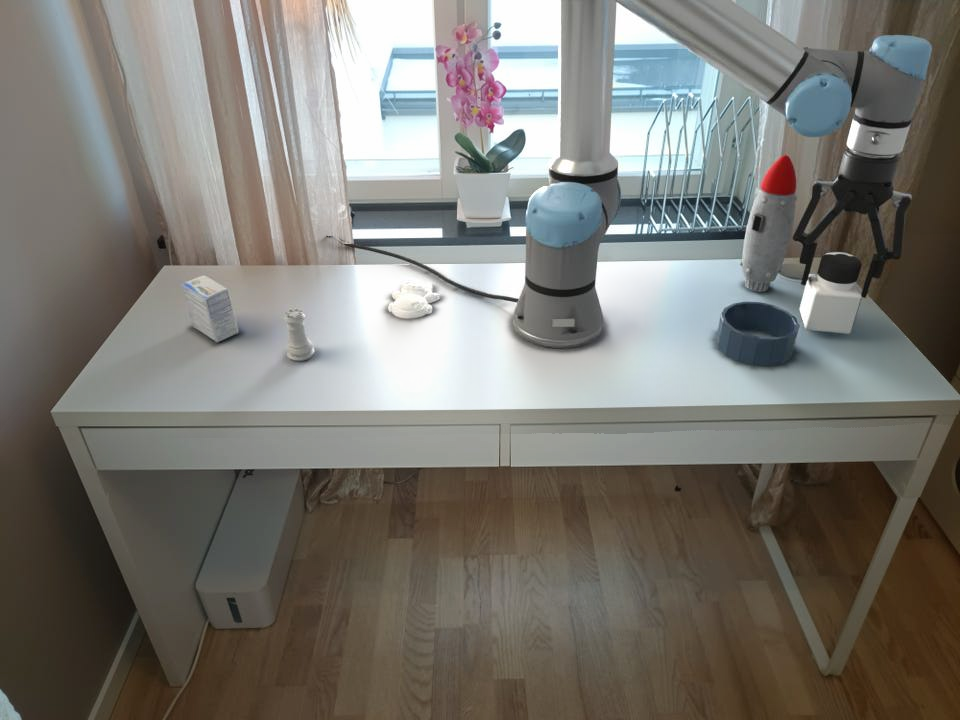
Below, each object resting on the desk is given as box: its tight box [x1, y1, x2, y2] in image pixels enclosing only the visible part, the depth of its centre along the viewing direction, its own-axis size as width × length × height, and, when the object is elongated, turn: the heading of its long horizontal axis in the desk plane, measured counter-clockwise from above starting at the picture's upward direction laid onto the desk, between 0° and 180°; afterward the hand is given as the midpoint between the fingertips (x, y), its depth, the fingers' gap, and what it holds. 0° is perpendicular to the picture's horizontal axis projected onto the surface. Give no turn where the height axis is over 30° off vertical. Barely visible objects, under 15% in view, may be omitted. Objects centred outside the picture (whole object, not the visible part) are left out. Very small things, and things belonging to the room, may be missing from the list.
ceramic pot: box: [715, 301, 800, 367], centre depth 120 cm, size 12×12×5 cm
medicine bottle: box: [798, 251, 863, 335], centre depth 122 cm, size 7×7×12 cm
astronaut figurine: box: [387, 280, 441, 319], centre depth 134 cm, size 9×12×3 cm
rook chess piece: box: [283, 307, 315, 362], centre depth 118 cm, size 4×4×8 cm
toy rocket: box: [739, 154, 798, 293], centre depth 131 cm, size 8×8×25 cm
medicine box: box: [181, 275, 239, 343], centre depth 125 cm, size 8×4×9 cm, turn 47°
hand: (833, 287), depth 121 cm, fingers closed on medicine bottle, 8 cm apart
